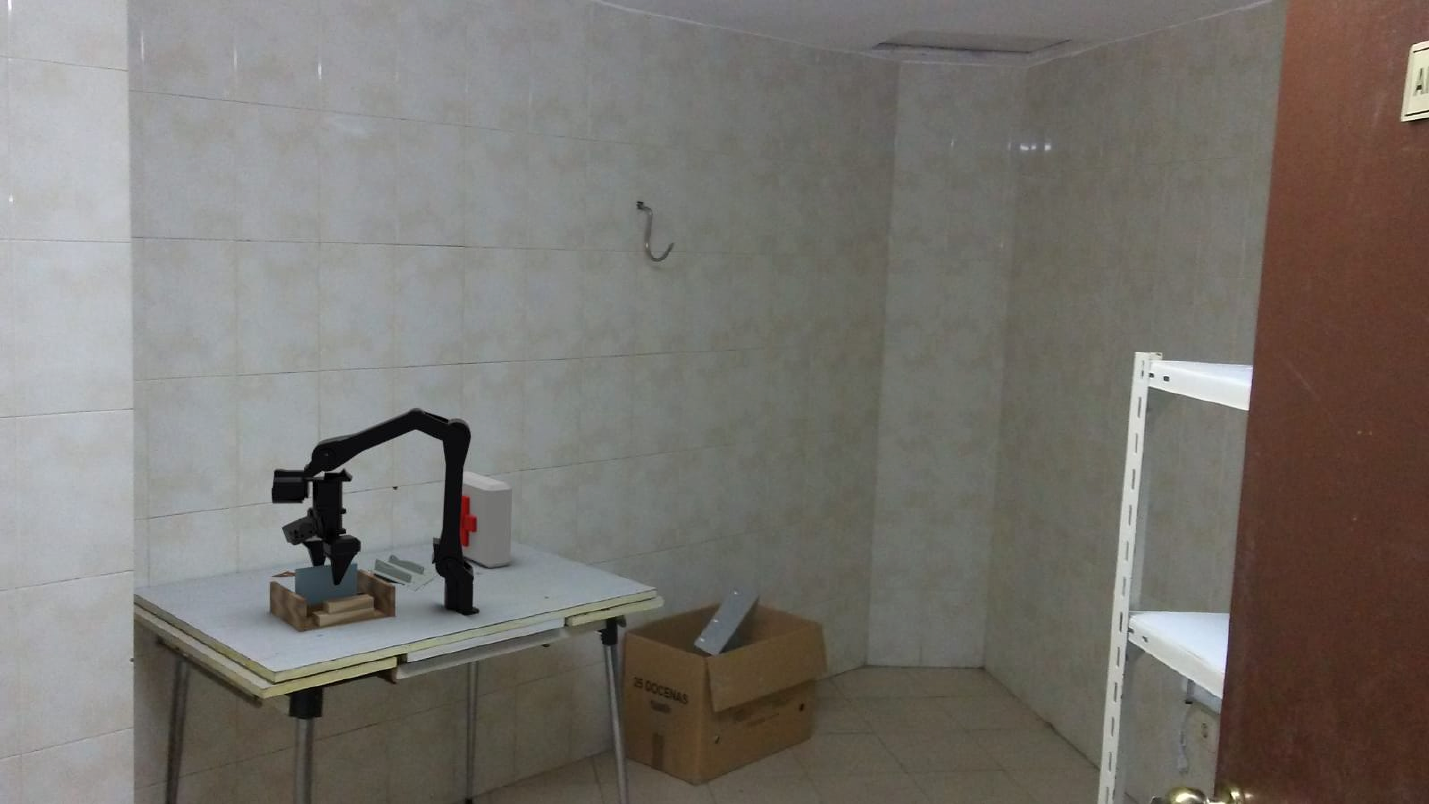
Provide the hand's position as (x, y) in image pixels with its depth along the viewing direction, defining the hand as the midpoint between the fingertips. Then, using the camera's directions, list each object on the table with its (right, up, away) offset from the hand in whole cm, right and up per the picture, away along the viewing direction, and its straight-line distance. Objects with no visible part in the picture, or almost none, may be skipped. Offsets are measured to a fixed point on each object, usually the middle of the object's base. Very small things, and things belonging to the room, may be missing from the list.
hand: (327, 579), depth 235 cm
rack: (+2, -7, -2) cm, 8 cm away
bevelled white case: (+19, -3, +51) cm, 55 cm away
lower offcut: (+5, -7, -6) cm, 10 cm away
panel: (0, -6, +1) cm, 6 cm away
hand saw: (-22, -5, +21) cm, 31 cm away
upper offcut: (+6, -5, -5) cm, 9 cm away
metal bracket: (+7, -5, +28) cm, 30 cm away
